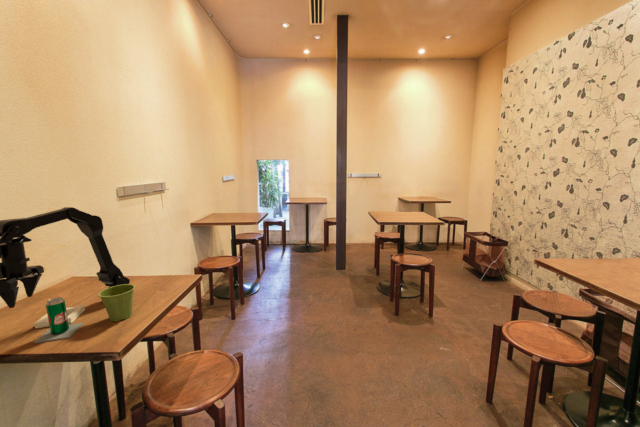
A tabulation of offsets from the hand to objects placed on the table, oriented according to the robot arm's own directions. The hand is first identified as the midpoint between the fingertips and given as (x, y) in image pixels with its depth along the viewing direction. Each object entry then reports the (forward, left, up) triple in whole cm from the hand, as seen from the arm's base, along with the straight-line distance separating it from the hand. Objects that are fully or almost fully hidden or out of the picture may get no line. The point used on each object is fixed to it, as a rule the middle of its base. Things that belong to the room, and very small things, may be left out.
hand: (21, 302), depth 101 cm
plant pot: (-26, -6, -14) cm, 30 cm away
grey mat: (-9, 0, -13) cm, 16 cm away
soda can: (-9, 0, -13) cm, 16 cm away
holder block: (-4, -13, -13) cm, 19 cm away
